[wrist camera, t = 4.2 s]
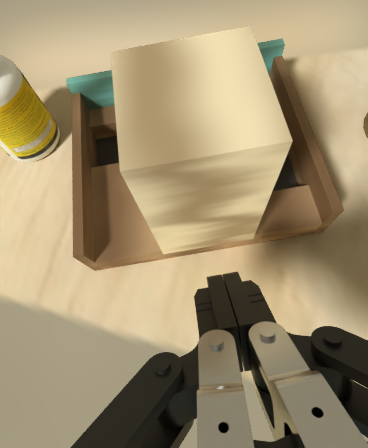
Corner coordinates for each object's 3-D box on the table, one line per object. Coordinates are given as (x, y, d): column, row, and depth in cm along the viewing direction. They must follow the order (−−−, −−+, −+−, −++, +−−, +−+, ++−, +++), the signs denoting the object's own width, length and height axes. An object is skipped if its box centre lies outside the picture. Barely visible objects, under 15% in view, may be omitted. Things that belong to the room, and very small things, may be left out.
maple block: (233, 163, 24) (251, 25, 13) (253, 238, 21) (292, 140, 11) (153, 177, 24) (110, 52, 14) (163, 254, 21) (119, 171, 11)
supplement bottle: (71, 126, 29) (9, 27, 20) (43, 171, 27) (-41, 85, 18) (27, 112, 30) (-52, 14, 21) (-4, 155, 28) (-104, 67, 19)
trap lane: (270, 87, 29) (282, 38, 24) (322, 231, 23) (350, 203, 18) (89, 120, 29) (66, 78, 24) (95, 270, 23) (66, 252, 19)
